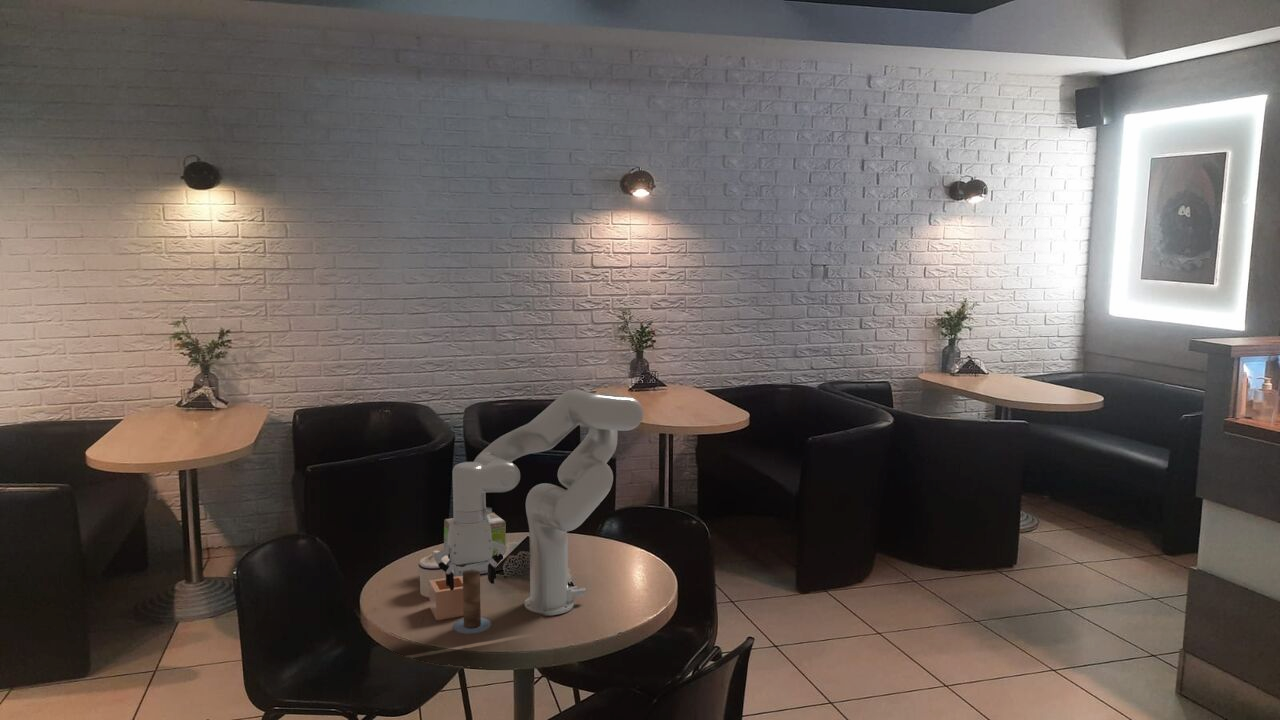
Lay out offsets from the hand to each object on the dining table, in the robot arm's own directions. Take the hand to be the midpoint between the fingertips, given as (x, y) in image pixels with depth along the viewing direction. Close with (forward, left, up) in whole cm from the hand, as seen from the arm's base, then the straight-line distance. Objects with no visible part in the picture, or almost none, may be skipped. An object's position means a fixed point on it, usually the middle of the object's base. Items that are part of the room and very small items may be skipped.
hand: (471, 584), depth 208 cm
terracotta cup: (+3, -10, -11) cm, 15 cm away
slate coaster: (0, 0, -11) cm, 11 cm away
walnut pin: (0, 0, -10) cm, 10 cm away
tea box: (-10, -38, -11) cm, 41 cm away
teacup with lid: (+3, -26, -11) cm, 28 cm away
